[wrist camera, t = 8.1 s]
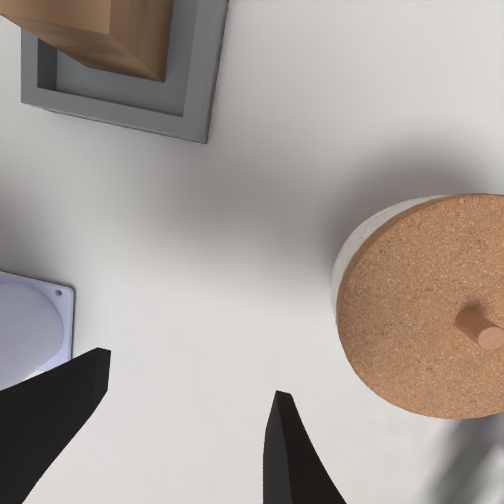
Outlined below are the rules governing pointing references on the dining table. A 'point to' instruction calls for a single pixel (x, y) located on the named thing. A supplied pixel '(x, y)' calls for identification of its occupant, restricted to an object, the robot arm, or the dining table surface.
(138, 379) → the dining table surface
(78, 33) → the walnut block
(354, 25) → the dining table surface
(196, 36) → the tray
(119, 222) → the dining table surface
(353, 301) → the lidded jar
